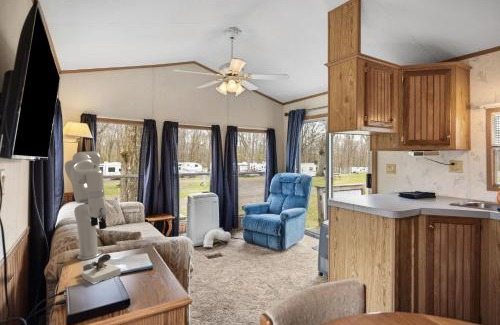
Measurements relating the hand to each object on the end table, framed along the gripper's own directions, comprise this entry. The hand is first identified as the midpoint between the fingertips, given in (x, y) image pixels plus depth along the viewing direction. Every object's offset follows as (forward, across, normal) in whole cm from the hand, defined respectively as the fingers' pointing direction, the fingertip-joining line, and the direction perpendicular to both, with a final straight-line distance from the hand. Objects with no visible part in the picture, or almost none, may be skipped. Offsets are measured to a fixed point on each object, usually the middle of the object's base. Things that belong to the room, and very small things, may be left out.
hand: (98, 227), depth 153 cm
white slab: (+23, +8, -3) cm, 24 cm away
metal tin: (+23, -2, -5) cm, 24 cm away
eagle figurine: (+20, +6, -2) cm, 21 cm away
